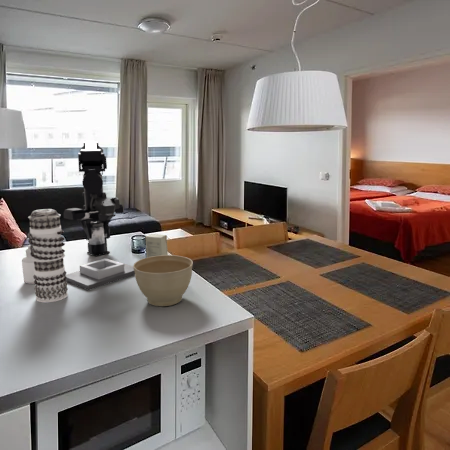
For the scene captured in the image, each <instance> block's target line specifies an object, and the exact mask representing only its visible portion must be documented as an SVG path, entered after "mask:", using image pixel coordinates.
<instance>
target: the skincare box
mask: <svg viewBox="0 0 450 450" xmlns="http://www.w3.org/2000/svg"><path fill="white" fill-rule="evenodd" d="M167 237H168V236H167V234H157V233H151V234H148V235H146V236H145V252H146V258H147V257H152V256H160V255H169V252H168V238H167Z"/></svg>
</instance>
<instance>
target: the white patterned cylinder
mask: <svg viewBox="0 0 450 450" xmlns="http://www.w3.org/2000/svg"><path fill="white" fill-rule="evenodd" d="M61 215H62V214H60V213H58V212H57V210H55V209H52V208H43V209H36V210H33V211H32V212H31V214H30V215H29V216H28V217H27V218H28V219H29V226H30V227H29V232H28V233H27V237H28V240H27V241H28V243H29V244H28V245H31V246H30V250H31V253H30V254H31V256H32V260H33V261H34V267H35V268H34V276H33V277H34V279H35V281H34V284H33V285H34V295H35V301H37V302H39V303H46V304H47V303H48V304H49V303H55V302H59V301H61V300H65V298H68V296H69V292H68V289H69V288H68V282H66V279H67V277H66V276H65V275H67V271H66V268H65V267H66V266H65V264H64V258H65V256H66V255H65V251H66V250H65V249H64V248H63V247H64V246H65V245H66V243H65V242H64V241H65V237H63V236H61V235H63V234H65V230H63V229H62V225H61V219H60V218H61Z"/></svg>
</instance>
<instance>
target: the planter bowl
mask: <svg viewBox="0 0 450 450" xmlns="http://www.w3.org/2000/svg"><path fill="white" fill-rule="evenodd" d="M193 263H194V262H193V260H192V259H191V258H189V257H186V256H181V255H174V254H171V255H170V254H168V255H160V256H152V257H147V256H146V257H144V258H140V259H139V260H137V261H136V262H135V263H134V264H133V265H132V266H133V268H134V271H135V275H134V277H135V281H136V284H137V287H138V288H139V290H140V292H141V293H142V295H143V296H145V298H146V300H147V303H148V304H149V305H151V306H155V307H168V306H174V305H176V304H178V303H180V302H182V299H183V296H184V294H185V293H186V292H187V290H188V288H189V285H190V283H191V280H192V275H193V266H194V264H193Z"/></svg>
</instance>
